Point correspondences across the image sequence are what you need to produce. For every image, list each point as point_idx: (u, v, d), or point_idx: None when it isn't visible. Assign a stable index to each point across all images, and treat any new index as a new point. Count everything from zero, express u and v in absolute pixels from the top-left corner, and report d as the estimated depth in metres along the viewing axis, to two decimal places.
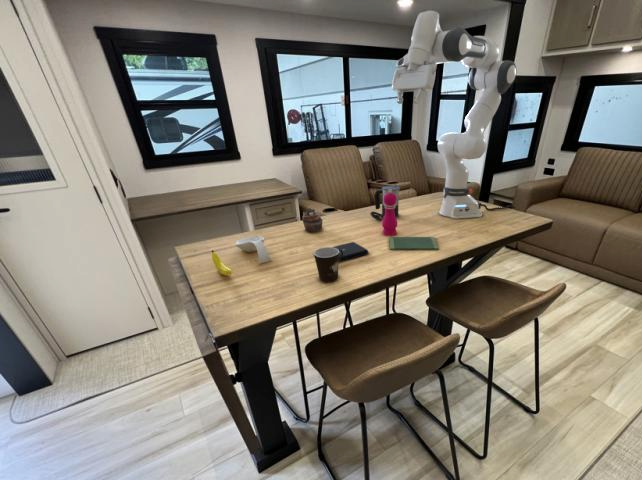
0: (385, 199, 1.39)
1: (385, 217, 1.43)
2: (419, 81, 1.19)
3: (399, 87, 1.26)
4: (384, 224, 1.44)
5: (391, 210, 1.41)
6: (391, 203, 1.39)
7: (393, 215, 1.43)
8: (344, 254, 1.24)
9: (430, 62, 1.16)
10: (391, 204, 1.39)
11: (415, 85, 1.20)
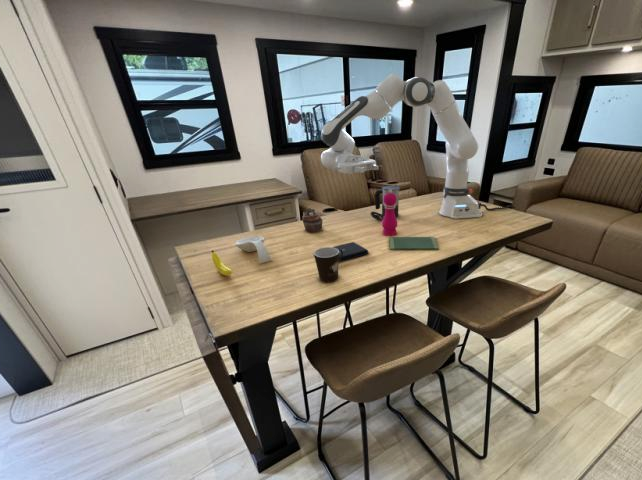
0: (385, 199, 1.39)
1: (385, 217, 1.43)
2: None
3: None
4: (384, 224, 1.44)
5: (391, 210, 1.41)
6: (391, 203, 1.39)
7: (393, 215, 1.43)
8: (344, 254, 1.24)
9: None
10: (391, 204, 1.39)
11: (355, 172, 1.42)
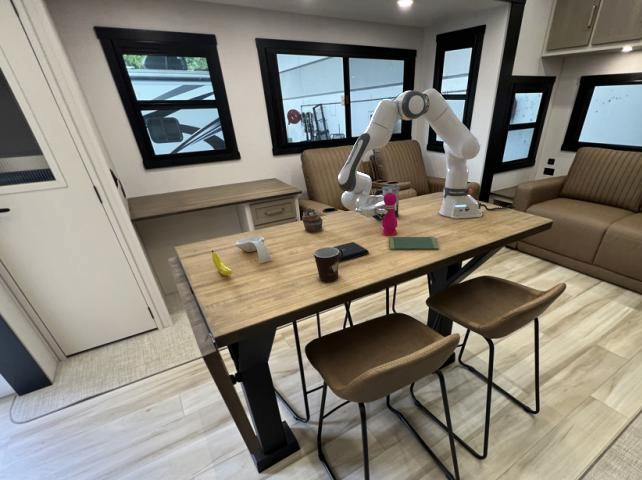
0: (385, 199, 1.39)
1: (385, 217, 1.43)
2: None
3: None
4: (384, 224, 1.44)
5: (391, 210, 1.41)
6: (391, 203, 1.39)
7: (393, 215, 1.43)
8: (344, 254, 1.24)
9: None
10: (391, 204, 1.39)
11: None
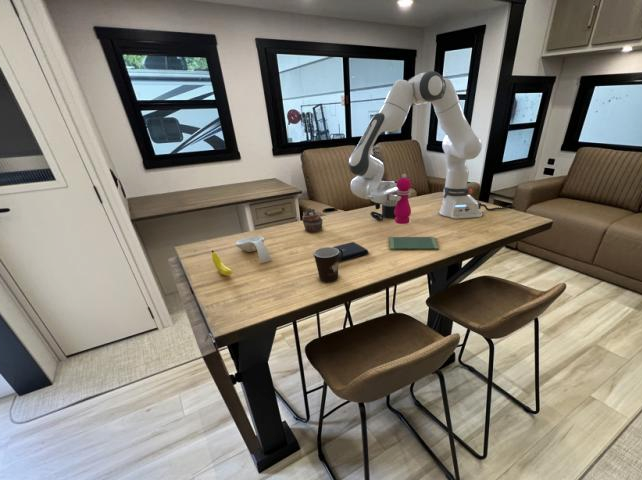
0: (398, 184, 1.28)
1: (398, 204, 1.33)
2: None
3: None
4: (397, 212, 1.34)
5: (405, 196, 1.31)
6: (405, 188, 1.29)
7: (407, 202, 1.33)
8: (344, 254, 1.24)
9: None
10: (405, 190, 1.29)
11: None
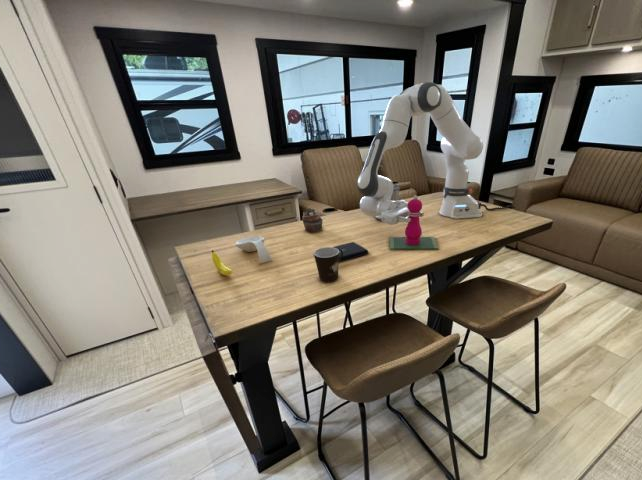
0: (409, 206, 1.27)
1: (409, 225, 1.32)
2: None
3: None
4: (408, 233, 1.32)
5: (416, 218, 1.29)
6: (416, 210, 1.27)
7: (418, 223, 1.31)
8: (344, 254, 1.24)
9: None
10: (416, 211, 1.28)
11: None
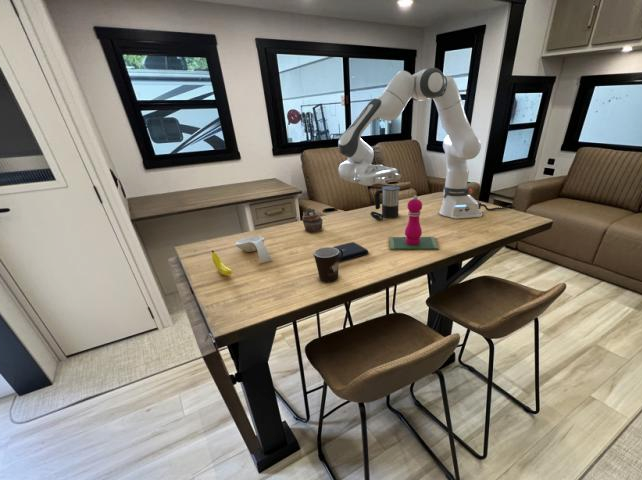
0: (409, 206, 1.27)
1: (409, 225, 1.32)
2: None
3: (390, 179, 1.38)
4: (408, 233, 1.32)
5: (416, 218, 1.29)
6: (416, 210, 1.27)
7: (418, 223, 1.31)
8: (344, 254, 1.24)
9: None
10: (416, 211, 1.28)
11: (376, 183, 1.32)
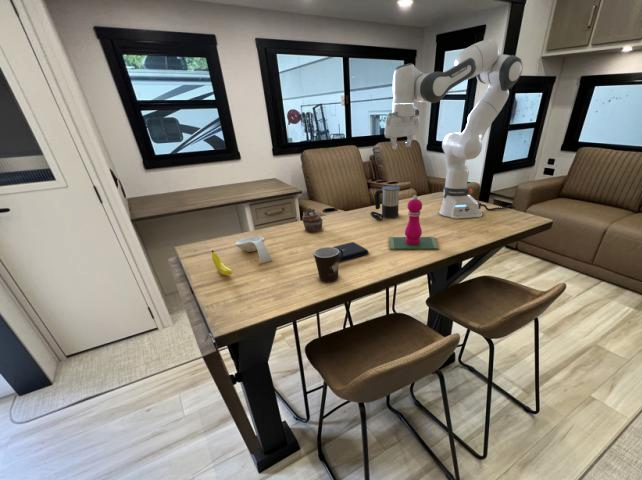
0: (409, 206, 1.27)
1: (409, 225, 1.32)
2: None
3: None
4: (408, 233, 1.32)
5: (416, 218, 1.29)
6: (416, 210, 1.27)
7: (418, 223, 1.31)
8: (344, 254, 1.24)
9: None
10: (416, 211, 1.28)
11: None
